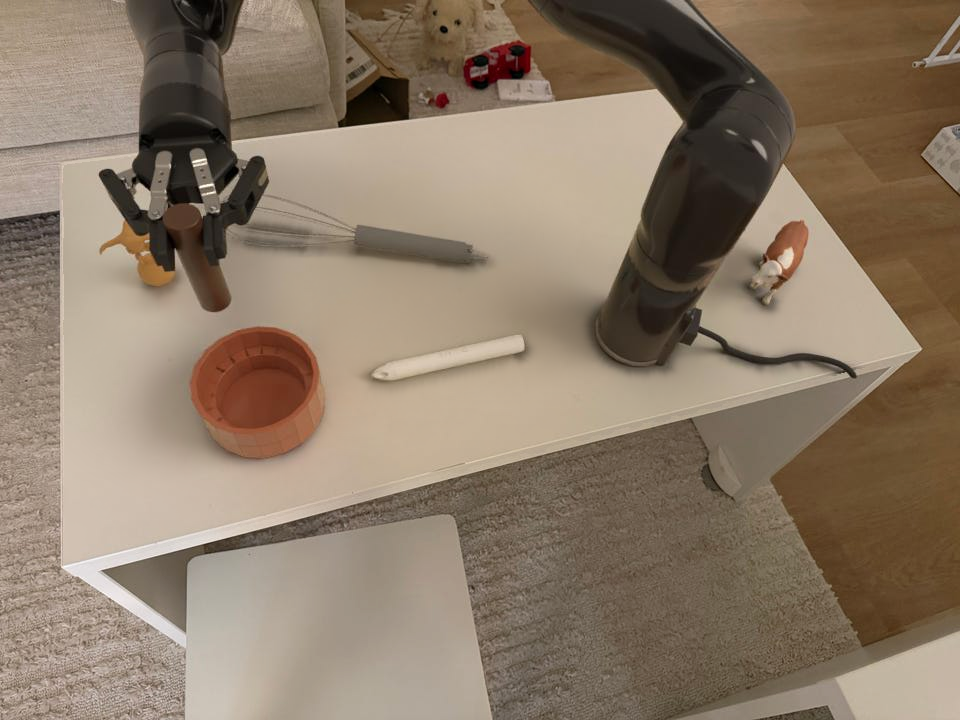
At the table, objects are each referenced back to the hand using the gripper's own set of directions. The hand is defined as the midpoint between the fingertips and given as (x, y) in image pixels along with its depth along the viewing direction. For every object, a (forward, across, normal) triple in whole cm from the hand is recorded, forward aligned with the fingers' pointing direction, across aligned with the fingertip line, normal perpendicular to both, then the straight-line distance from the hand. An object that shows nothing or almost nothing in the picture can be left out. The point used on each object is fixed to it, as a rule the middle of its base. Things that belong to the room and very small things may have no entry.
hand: (189, 261), depth 52 cm
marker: (-1, +22, +24) cm, 33 cm away
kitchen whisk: (-21, +14, +24) cm, 35 cm away
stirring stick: (-3, 0, +9) cm, 9 cm away
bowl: (+1, +2, +24) cm, 24 cm away
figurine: (-18, -9, +24) cm, 31 cm away
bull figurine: (-6, +66, +24) cm, 71 cm away
